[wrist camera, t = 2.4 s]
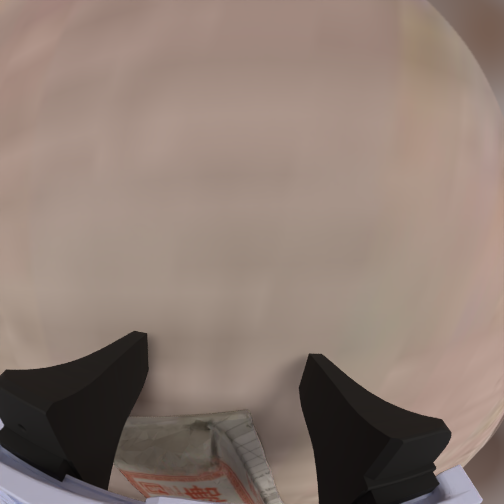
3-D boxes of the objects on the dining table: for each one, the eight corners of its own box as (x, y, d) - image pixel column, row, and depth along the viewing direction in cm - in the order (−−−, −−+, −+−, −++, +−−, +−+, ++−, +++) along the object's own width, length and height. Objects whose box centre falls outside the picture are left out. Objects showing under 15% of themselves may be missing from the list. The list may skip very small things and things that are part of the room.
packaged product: (77, 459, 10) (252, 468, 9) (103, 409, 14) (249, 401, 14) (189, 548, 14) (292, 545, 13) (192, 514, 18) (287, 509, 18)
